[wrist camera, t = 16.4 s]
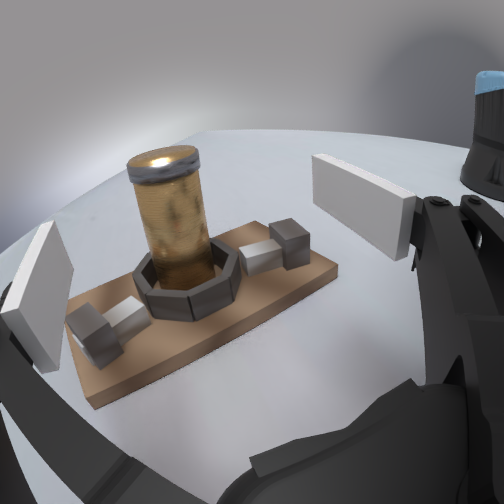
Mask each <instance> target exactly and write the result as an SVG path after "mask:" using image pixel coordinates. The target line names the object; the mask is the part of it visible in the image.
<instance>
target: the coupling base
mask: <svg viewBox="0 0 504 504" xmlns="http://www.w3.org/2000/svg"><path fill="white" fill-rule="evenodd" d="M209 240H210V246H211V252H212V257H213V263H214V268H215V274H216V278H214V279H211V280H209V281H207V282H205V283H203V284H201V285H199V286H196V287H194V288H192V289H190V290H188V291H182V290H163V289H161V288H160V284H159V281H158V278H157V274H156V271H155V267H154V264H153V260H152V257H151V253H147V254H146V255H145V257H144V258H143V259H142V261H141V262H140V263H139V265H138V266H137V267H136V269H135V270H134V271H132V272H130V273H128V274H126V275H123V276H121V277H119V278H116V279H114V280H112V281H109V282H107V283H105V284H103V285H100V286H98V287H96V288H94V289H91V290H89V291H87V292H85V293H82V294H80V295H78V296H76V297H73V298H71V299H69V300H68V303H67V309H66V316H65V327H66V332H67V336H68V340H69V344H70V348H71V352H72V356H73V359H74V363H75V366H76V370H77V373H78V377H79V380H80V383H81V386H82V389H83V393H84V396H85V398H86V400H87V401H88V402H89V403H90V405H91V406H92V407H93V408H94V410H95V409H97V408H100V407H102V406H104V405H106V404H108V403H110V402H113V401H115V400H117V399H119V398H121V397H123V396H125V395H127V394H129V393H132V392H134V391H136V390H138V389H140V388H142V387H144V386H146V385H148V384H150V383H152V382H154V381H156V380H158V379H160V378H162V377H164V376H166V375H168V374H170V373H172V372H174V371H176V370H177V369H179V368H181V367H183V366H185V365H187V364H189V363H191V362H193V361H195V360H197V359H198V358H200V357H202V356H204V355H206V354H208V353H210V352H211V351H213V350H215V349H217V348H219V347H221V346H222V345H224V344H226V343H228V342H230V341H231V340H233V339H235V338H237V337H239V336H240V335H242V334H244V333H246V332H247V331H249V330H251V329H253V328H254V327H256V326H258V325H260V324H261V323H263V322H265V321H266V320H268V319H270V318H272V317H273V316H275V315H277V314H278V313H280V312H282V311H283V310H285V309H287V308H288V307H290V306H292V305H293V304H295V303H297V302H298V301H300V300H302V299H303V298H305V297H307V296H308V295H310V294H311V293H313V292H315V291H316V290H318V289H319V288H321V287H323V286H324V285H326V284H327V283H329V282H331V281H332V280H334V279H335V278H337V273H338V264H337V263H335V262H333V261H331V260H329V259H327V258H326V257H324V256H322V255H320V254H318V253H316V252H314V251H312V250H310V233H309V232H308V231H306V230H305V229H304V228H303V227H302V226H300V225H299V224H298V223H297V222H296V221H294V220H293V219H292V218H289V219H285V220H281V221H277V222H273V223H270V224H269V228H268V227H266V226H265V225H263V224H261V223H259V222H257V221H253V222H250V223H248V224H245V225H243V226H240V227H238V228H235V229H233V230H230V231H228V232H225V233H223V234H221V235H218V236H216V237H213V238H209ZM149 252H150V251H149Z"/></svg>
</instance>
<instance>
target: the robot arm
mask: <svg viewBox="0 0 504 504" xmlns="http://www.w3.org/2000/svg"><path fill="white" fill-rule="evenodd" d="M474 95H476V99H475V118H474V133H473V143H472V146H471V148H470V151H469V153H468V156H467V158H466V161H465V164H464V165H463V166H462V169H461V177H460V179H461V181H462V182H463V183H464V184H465V185H466V186H467V187H469V188H471V189H472V190H474V191H476V192H478V193H480V194H483V195H485V196H488V197H491V198H494V199H497V200H501V201H504V72H500V71H482V72H480V73H478V74H477V76H476V87H475V93H474ZM312 174H313V203H314V204H315V205H317V206H318V207H320V208H321V209H322V210H324V211H325V212H327V213H328V214H330V215H331V216H333V217H334V218H335V219H337V220H338V221H340V222H341V223H343V224H344V225H345V226H347V227H348V228H350V229H351V230H353V231H354V232H355V233H357V234H358V235H359V236H361V237H362V238H364V239H365V240H366V241H368V242H369V243H370V244H372V245H373V246H375V247H376V248H377V249H379V250H380V251H381V252H383V253H384V254H385V255H387V256H388V257H389V258H391V259H392V260H393V261H398V260H400V259H403V258H405V257H407V256H408V251H409V245H410V243H411V244H412V245H414V246H415V247H416V250H415V255H414V260H413V265H412V270H411V271H414V268H416V269H417V276H418V283H419V291H420V300H421V309H422V319H423V331H424V345H425V365H426V384H425V385H424V386H419V387H418V386H417V385H416V383H415V382H414V381H413V380H412V379H411V378H410V379H408V380H407V381H405V382H404V383H402V384H400V385H399V386H397V387H396V388H394V389H392V390H391V391H389V392H387V393H386V394H384V395H382V396H381V397H379V398H378V399H377V400H376V401H375V402H374V403H373V404H372V405H370V406H369V407H368V408H367V409H366V410H365V411H364V412H363V413H362V414H361V415H360V416H359V417H358V418H357V419H356V420H355V421H353V422H352V423H351V424H350V425H349V426H348V427H346V428H344V429H341V430H337V431H333V432H329V433H325V434H320V435H316V436H311V437H306V438H301V439H295V440H293V441H290V442H288V443H286V444H283V445H281V446H278V447H276V448H273V449H271V450H268V451H265V452H263V453H260V454H257V455H255V456H252V457H249V459H250V462H251V465H252V468H251V469H250V470H248V471H247V472H245V473H244V474H242V475H241V476H240V477H239V478H237V479H236V480H235V481H234V482H233V483H232V484H231V485H230V486H229V487H228V488H227V489H226V490H225V492H224V493H223V494H222V496H221V497H220V498H219V500H218V502H217V504H504V218H503V217H502V216H501V215H500V214H499V213H498V212H497V211H496V210H495V209H494V208H493V207H492V206H490V205H489V204H488V203H487V202H486V201H485V200H483V199H481V198H480V197H478V196H476V195H463V196H462V198H461V203H460V206H453V205H452V204H451V202H449V201H448V200H446V199H443V198H442V197H438V196H429V197H425V198H424V199H421V198H419V197H417V195H416V194H414V193H412V192H410V191H408V190H406V189H404V188H402V187H399V186H397V185H395V184H393V183H391V182H389V181H387V180H385V179H383V178H380V177H378V176H376V175H374V174H372V173H369V172H367V171H365V170H363V169H360V168H358V167H356V166H353V165H351V164H349V163H346V162H344V161H342V160H339V159H337V158H334V157H332V156H329V155H327V154H324V153H323V154H317V155H312ZM481 235H482V243H481V246H480V247H479V246H478V244H479V240H480V236H481ZM73 271H74V268H73V266H72V264H71V261H70V259H69V256H68V254H67V252H66V249H65V247H64V244H63V241H62V239H61V236H60V234H59V231H58V228H57V226H56V223H55V220H53V221H50V222H47V223H44V224H41V225H40V227H39V229H38V231H37V233H36V235H35V237H34V238H33V240H32V242H31V244H30V246H29V248H28V250H27V252H26V254H25V256H24V259H23V261H22V263H21V265H20V267H19V269H18V271H17V274H16V276H15V278H14V280H13V282H10V284H9V285H8V286H7V287H6V289H5V290H4V291H3V294H2V296H1V298H0V299H1V300H0V403H1V402H2V404H3V405H4V407H5V408H6V410H7V411H8V413H9V414H10V416H11V417H12V419H13V420H14V422H15V423H16V425H17V426H18V427H19V429H20V430H21V431H22V433H23V434H24V436H25V437H26V438H27V440H28V441H29V442H30V443H31V445H32V446H33V447H34V449H35V450H36V451H37V452H38V454H39V455H40V456H41V457H42V458H43V460H44V461H45V462H46V463H47V464H48V465H49V467H50V468H51V469H52V470H53V471H54V472H55V473H56V475H57V476H58V477H59V478H60V479H61V480H62V481H63V482H64V483H65V484H66V485H67V486H68V487H69V488H70V490H71V491H72V492H73V493H74V494H75V495H76V496H77V497H78V498H79V499H80V500H81V501H82V502H83V503H84V504H208V503H206V502H204V501H202V500H201V499H199V498H197V497H195V496H194V495H192V494H190V493H188V492H187V491H185V490H183V489H182V488H180V487H178V486H177V485H175V484H173V483H172V482H170V481H169V480H167V479H165V478H164V477H162V476H161V475H159V474H158V473H156V472H155V471H153V470H152V469H150V468H149V467H147V466H146V465H144V464H143V463H141V462H140V461H139V460H137V459H135V458H134V457H130V456H129V455H127V454H126V453H124V452H123V451H122V450H121V449H119V448H118V447H117V446H115V445H114V444H113V443H112V442H110V441H109V440H108V439H107V438H105V437H104V436H103V435H102V434H101V433H99V432H98V431H97V430H96V429H95V428H94V427H92V426H91V425H90V424H89V423H88V422H87V421H86V420H84V419H83V418H82V417H81V416H80V415H79V414H78V413H77V412H76V411H75V410H74V409H72V408H71V407H70V406H69V405H68V404H67V403H66V402H65V401H64V400H63V399H62V398H61V397H60V396H59V395H58V394H57V393H56V392H55V391H54V390H53V389H52V388H51V387H50V386H49V385H48V384H47V383H46V382H45V380H44V379H43V378H42V377H41V376H40V375H39V374H38V373H37V372H36V371H35V370H34V368H33V363H34V365H35V366H36V367H37V368H38V370H39V371H40V372H41V374H44V373H48V372H53V371H57V370H59V366H60V355H61V346H62V338H63V330H64V323H65V316H66V309H67V303H68V297H69V292H70V286H71V281H72V276H73ZM0 504H37V502H36V500H35V498H34V496H33V494H32V492H31V490H30V487H29V485H28V483H27V481H26V479H25V477H24V474H23V472H22V470H21V467H20V465H19V462H18V460H17V457H16V455H15V452H14V450H13V447H12V444H11V441H10V439H9V436H8V433H7V430H6V427H5V424H4V421H3V417H2V414H1V411H0Z"/></svg>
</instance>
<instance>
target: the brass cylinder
mask: <svg viewBox="0 0 504 504" xmlns="http://www.w3.org/2000/svg"><path fill="white" fill-rule="evenodd" d="M199 168H200V160H199V153H198V149H197V148H195V147H194V146H189V145H180V146H171V147H165V148H160V149H156V150H152V151H148V152H145V153H142V154H140V155H137V156H135V157H133V158H132V159H130V160H129V162H128V163H127V170H128V175H129V179H130V182H131V183H133V185H134V189H135V194H136V198H137V202H138V207H139V211H140V215H141V219H142V223H143V227H144V231H145V234H146V238H147V242H148V246H149V249H150V253H151V257H152V260H153V264H154V267H155V271H156V274H157V278H158V281H159V284H160V288H161V289H163V290H182V291H188V290H190V289H192V288H194V287H196V286H199V285H201V284H203V283H205V282H207V281H209V280H211V279H214V278H216V274H215V268H214V263H213V257H212V252H211V246H210V240H209V234H208V228H207V222H206V216H205V210H204V204H203V197H202V191H201V185H200V178H199V171H198V169H199Z"/></svg>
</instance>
